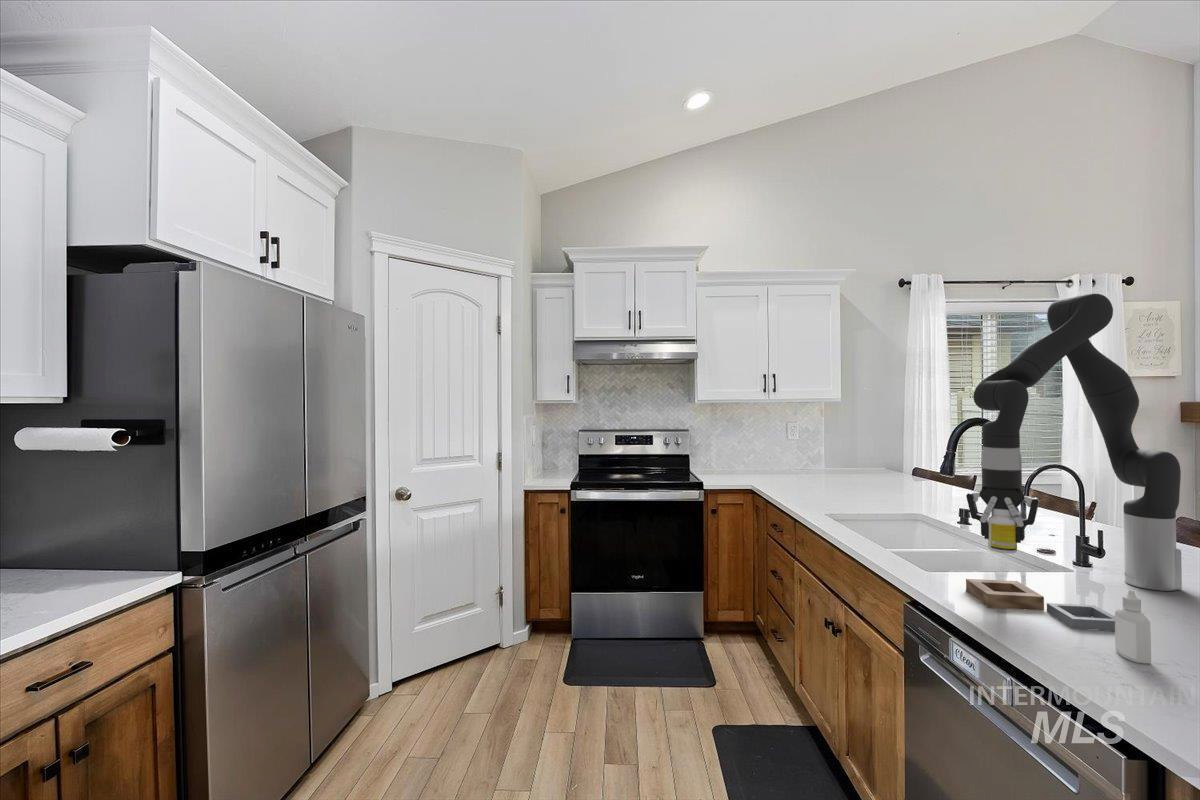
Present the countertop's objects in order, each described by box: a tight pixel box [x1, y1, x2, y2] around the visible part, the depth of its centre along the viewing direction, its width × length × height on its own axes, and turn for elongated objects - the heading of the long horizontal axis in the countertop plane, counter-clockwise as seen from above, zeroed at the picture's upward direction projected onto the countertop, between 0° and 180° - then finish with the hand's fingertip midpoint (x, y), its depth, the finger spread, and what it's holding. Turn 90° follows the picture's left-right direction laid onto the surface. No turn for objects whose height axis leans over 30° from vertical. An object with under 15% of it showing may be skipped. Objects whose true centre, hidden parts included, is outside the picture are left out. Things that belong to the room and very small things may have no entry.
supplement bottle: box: [987, 508, 1018, 554], centre depth 130 cm, size 5×5×10 cm
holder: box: [1046, 602, 1115, 632], centre depth 117 cm, size 9×9×2 cm
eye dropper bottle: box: [1114, 589, 1152, 665], centre depth 101 cm, size 4×6×12 cm
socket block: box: [965, 578, 1045, 612], centre depth 130 cm, size 11×11×3 cm
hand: (1002, 539), depth 130 cm, fingers closed on supplement bottle, 5 cm apart
